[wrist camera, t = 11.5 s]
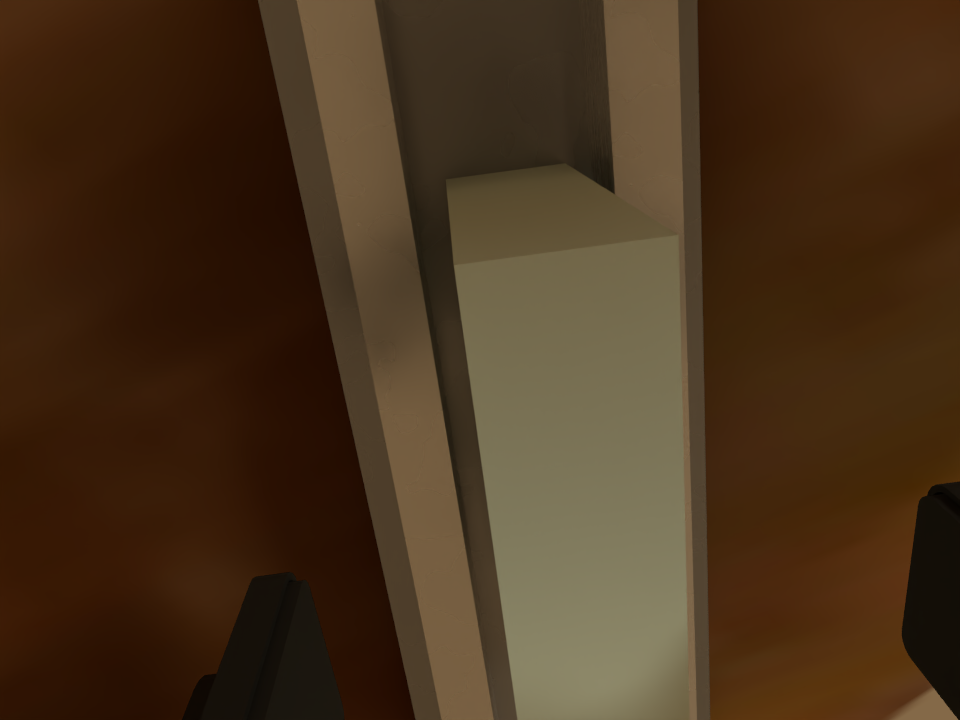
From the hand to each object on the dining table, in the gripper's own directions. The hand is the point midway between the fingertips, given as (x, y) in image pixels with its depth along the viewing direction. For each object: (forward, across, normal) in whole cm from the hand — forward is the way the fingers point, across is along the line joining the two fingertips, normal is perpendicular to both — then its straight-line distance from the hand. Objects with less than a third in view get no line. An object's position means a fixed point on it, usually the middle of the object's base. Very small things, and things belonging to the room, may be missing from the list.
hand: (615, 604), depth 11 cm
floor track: (+10, 0, +1) cm, 11 cm away
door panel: (+10, 0, +1) cm, 10 cm away
